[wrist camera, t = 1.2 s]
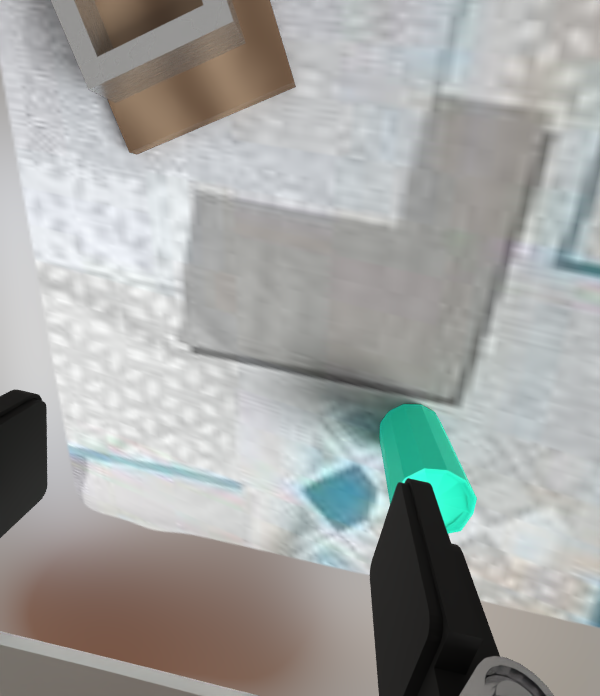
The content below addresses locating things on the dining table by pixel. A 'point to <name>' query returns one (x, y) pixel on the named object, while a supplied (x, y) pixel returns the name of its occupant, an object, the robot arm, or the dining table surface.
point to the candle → (426, 461)
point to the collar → (146, 46)
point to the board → (196, 71)
